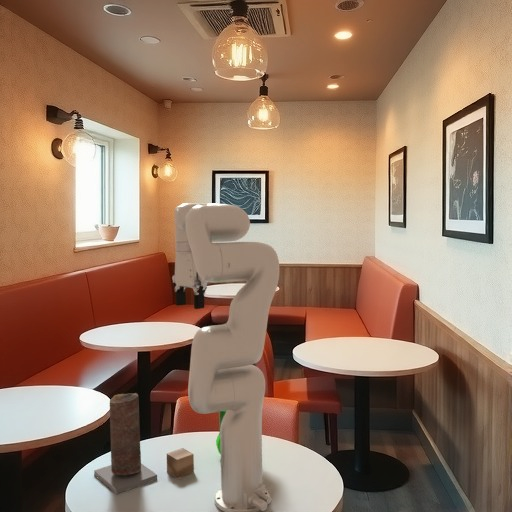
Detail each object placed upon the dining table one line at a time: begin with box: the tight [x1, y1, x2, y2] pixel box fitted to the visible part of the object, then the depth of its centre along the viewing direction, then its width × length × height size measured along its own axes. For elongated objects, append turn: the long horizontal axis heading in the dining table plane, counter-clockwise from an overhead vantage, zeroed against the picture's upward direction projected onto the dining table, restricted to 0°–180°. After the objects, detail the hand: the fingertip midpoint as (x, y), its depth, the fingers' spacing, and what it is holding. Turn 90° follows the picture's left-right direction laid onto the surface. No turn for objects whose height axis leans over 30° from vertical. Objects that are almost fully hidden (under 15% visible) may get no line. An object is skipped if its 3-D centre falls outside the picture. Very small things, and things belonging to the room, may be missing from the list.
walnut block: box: [166, 447, 195, 479], centre depth 136 cm, size 5×5×5 cm
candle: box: [109, 392, 142, 476], centre depth 133 cm, size 8×7×20 cm
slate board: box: [93, 463, 158, 495], centre depth 133 cm, size 13×11×1 cm
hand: (189, 306), depth 153 cm, fingers open, 9 cm apart
